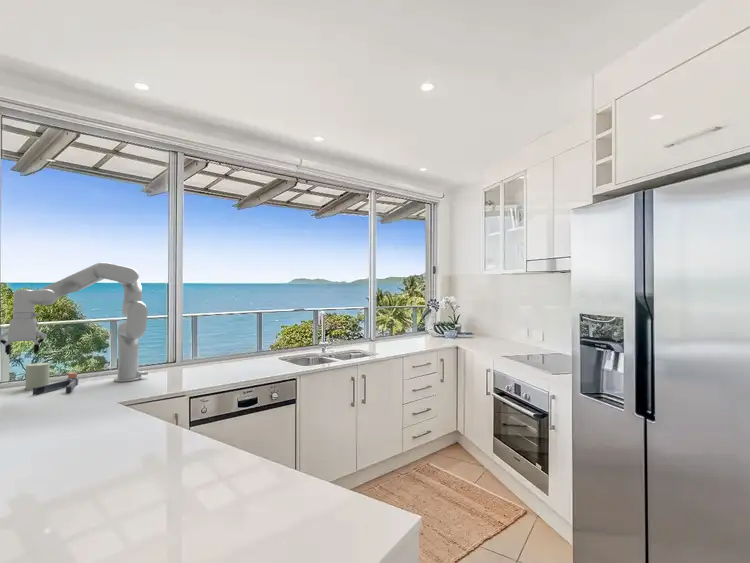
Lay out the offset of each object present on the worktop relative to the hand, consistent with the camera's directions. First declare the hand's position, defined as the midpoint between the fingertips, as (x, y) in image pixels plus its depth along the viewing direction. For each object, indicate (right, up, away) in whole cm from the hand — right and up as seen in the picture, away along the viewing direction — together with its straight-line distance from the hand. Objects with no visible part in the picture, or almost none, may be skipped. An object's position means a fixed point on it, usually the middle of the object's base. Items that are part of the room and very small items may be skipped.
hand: (22, 353), depth 186 cm
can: (-4, -19, +14) cm, 24 cm away
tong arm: (+8, -19, +8) cm, 22 cm away
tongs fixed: (+13, -19, +12) cm, 26 cm away
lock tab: (+8, -16, +21) cm, 27 cm away
